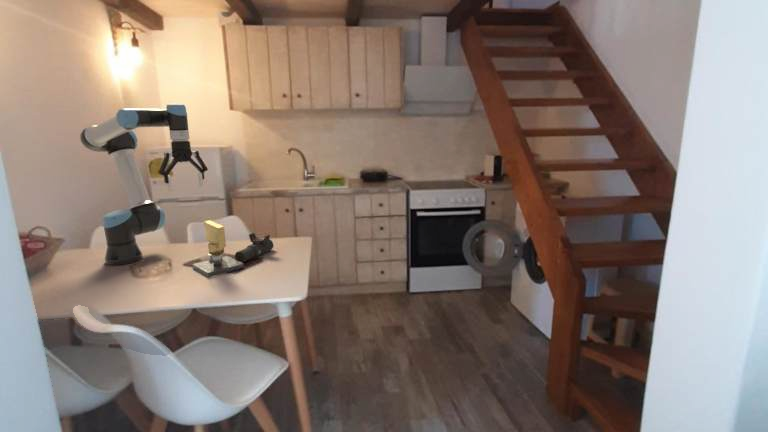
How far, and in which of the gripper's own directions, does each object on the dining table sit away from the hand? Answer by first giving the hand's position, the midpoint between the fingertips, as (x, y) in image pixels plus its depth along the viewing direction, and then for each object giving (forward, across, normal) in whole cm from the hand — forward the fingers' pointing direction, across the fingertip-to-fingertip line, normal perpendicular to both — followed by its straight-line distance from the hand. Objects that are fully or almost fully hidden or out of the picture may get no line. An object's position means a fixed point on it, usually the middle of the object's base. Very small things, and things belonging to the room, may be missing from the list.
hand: (186, 188), depth 186 cm
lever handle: (+27, +4, -16) cm, 32 cm away
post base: (+35, +4, -16) cm, 38 cm away
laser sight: (+35, +24, -13) cm, 45 cm away
